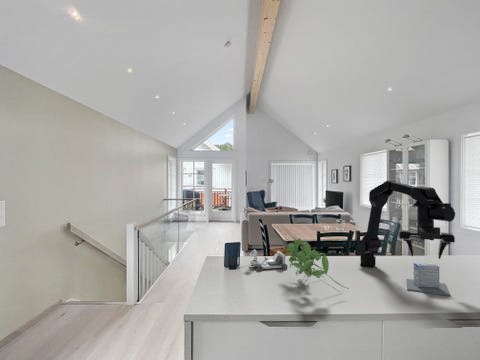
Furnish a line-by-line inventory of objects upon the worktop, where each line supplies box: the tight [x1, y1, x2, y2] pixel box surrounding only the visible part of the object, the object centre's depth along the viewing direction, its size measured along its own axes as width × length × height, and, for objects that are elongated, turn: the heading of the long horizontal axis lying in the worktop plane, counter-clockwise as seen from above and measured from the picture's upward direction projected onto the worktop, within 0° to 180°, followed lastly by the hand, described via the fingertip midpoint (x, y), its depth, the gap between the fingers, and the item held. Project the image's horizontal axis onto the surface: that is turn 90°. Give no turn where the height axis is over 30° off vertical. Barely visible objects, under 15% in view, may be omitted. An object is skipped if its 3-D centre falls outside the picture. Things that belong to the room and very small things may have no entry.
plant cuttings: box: [284, 237, 350, 294], centre depth 124 cm, size 35×17×22 cm
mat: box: [406, 278, 451, 297], centre depth 122 cm, size 14×14×1 cm
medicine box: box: [413, 262, 440, 288], centre depth 122 cm, size 8×4×9 cm, turn 83°
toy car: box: [249, 249, 288, 272], centre depth 152 cm, size 18×10×12 cm
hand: (425, 257), depth 123 cm, fingers open, 9 cm apart
